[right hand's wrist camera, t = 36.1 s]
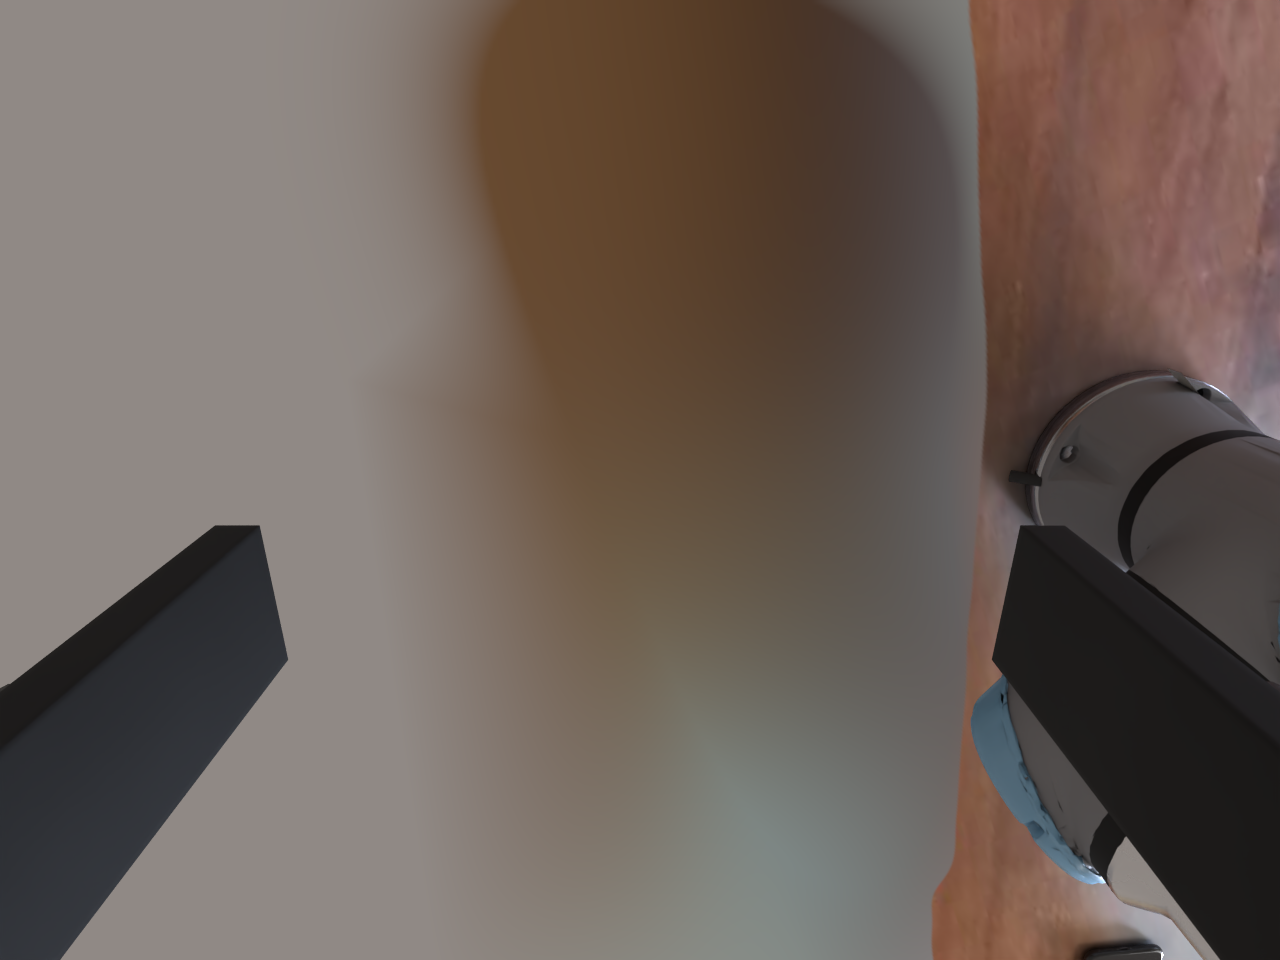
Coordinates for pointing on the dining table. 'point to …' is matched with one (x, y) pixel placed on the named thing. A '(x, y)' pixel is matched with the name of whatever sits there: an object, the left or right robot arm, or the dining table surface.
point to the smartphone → (1126, 953)
